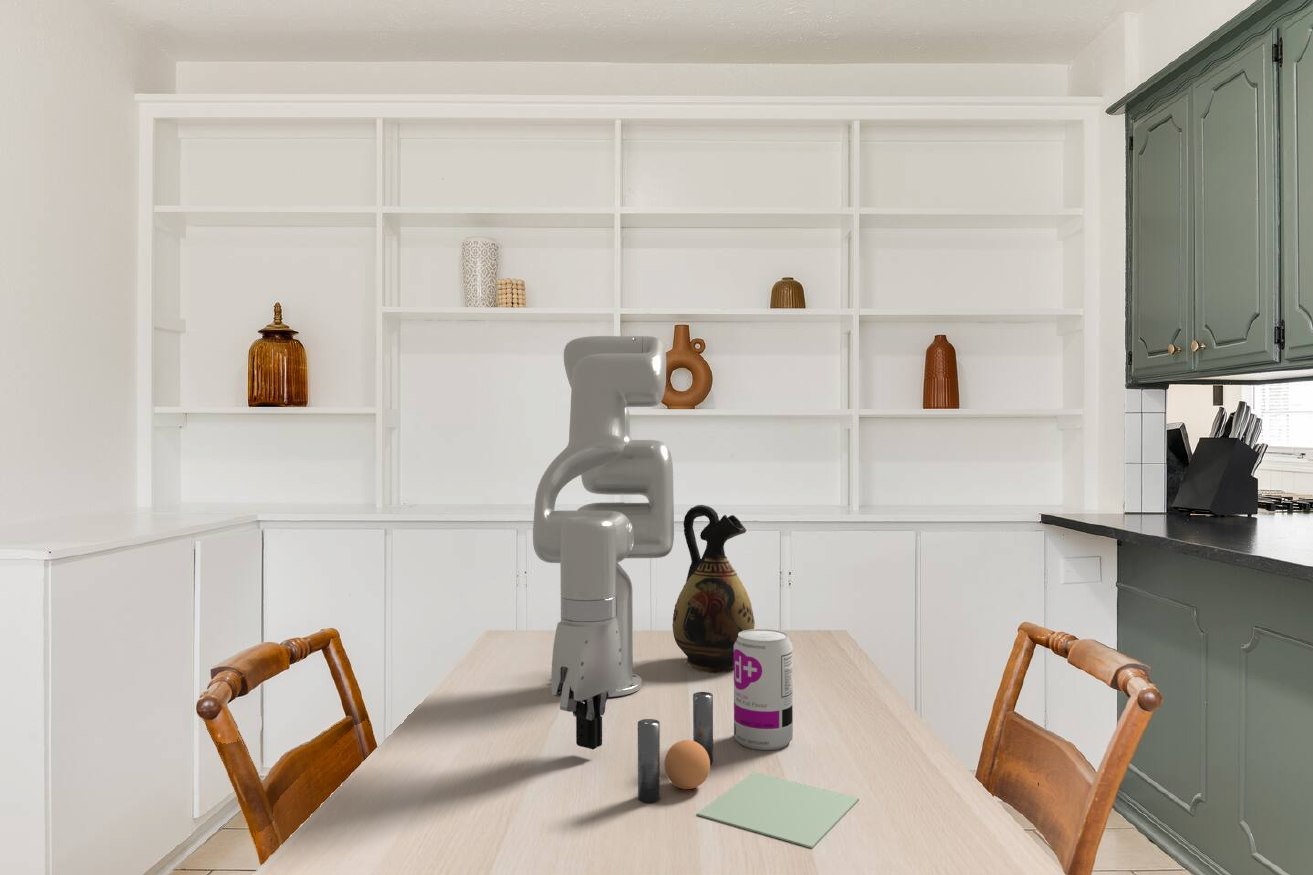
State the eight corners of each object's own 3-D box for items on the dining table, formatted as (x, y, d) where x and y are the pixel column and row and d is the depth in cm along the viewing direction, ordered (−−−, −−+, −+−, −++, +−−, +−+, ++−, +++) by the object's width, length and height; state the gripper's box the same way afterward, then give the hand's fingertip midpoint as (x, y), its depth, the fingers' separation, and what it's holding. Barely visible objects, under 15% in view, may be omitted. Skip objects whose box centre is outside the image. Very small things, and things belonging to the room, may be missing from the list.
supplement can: (755, 755, 112) (755, 644, 112) (723, 736, 119) (722, 631, 119) (804, 745, 116) (804, 637, 116) (770, 727, 123) (769, 625, 123)
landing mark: (696, 814, 95) (696, 813, 95) (753, 773, 106) (753, 771, 106) (812, 848, 87) (812, 846, 87) (859, 799, 99) (859, 797, 99)
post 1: (633, 799, 99) (633, 723, 99) (646, 791, 101) (645, 717, 101) (651, 804, 97) (651, 727, 97) (664, 796, 99) (663, 721, 99)
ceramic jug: (766, 660, 160) (766, 504, 160) (735, 681, 146) (735, 510, 146) (687, 650, 168) (686, 501, 168) (650, 669, 154) (650, 507, 154)
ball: (650, 780, 102) (662, 739, 101) (675, 764, 107) (686, 725, 105) (687, 805, 99) (700, 764, 98) (711, 787, 104) (723, 748, 103)
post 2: (689, 764, 109) (689, 695, 109) (699, 757, 111) (699, 690, 111) (706, 768, 108) (706, 699, 108) (716, 762, 110) (716, 693, 110)
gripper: (600, 597, 120) (600, 724, 120) (529, 616, 108) (530, 757, 108) (643, 602, 116) (643, 734, 116) (575, 622, 104) (575, 770, 104)
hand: (589, 745), depth 112 cm, fingers closed
